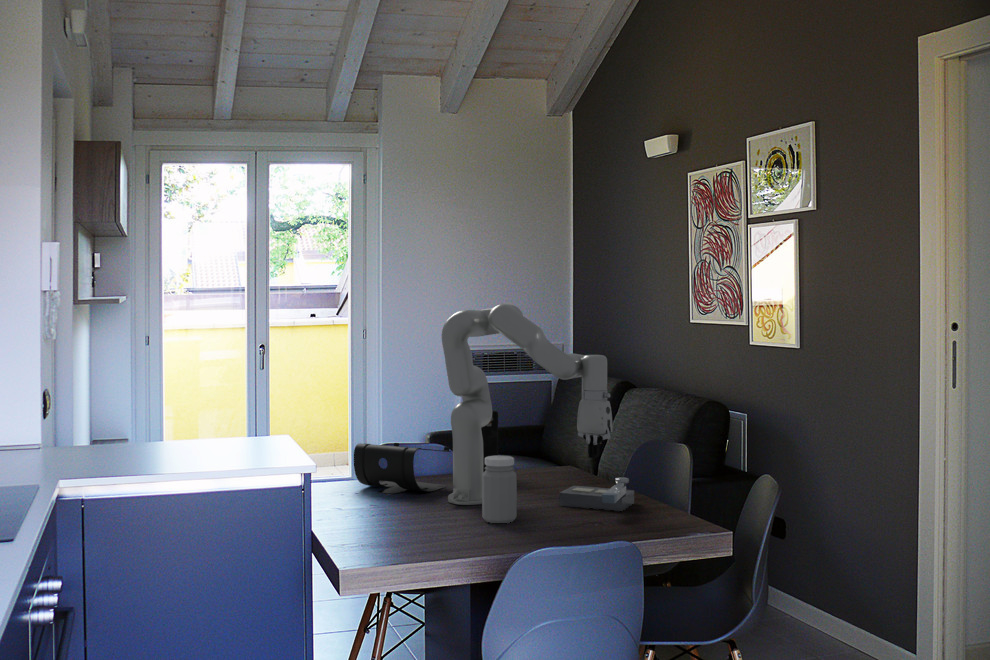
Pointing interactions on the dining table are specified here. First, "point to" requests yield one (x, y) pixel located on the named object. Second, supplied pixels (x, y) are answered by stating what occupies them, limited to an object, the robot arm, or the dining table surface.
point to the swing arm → (615, 491)
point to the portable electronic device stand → (390, 468)
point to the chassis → (593, 498)
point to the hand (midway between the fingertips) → (593, 457)
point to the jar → (499, 490)
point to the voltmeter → (490, 438)
